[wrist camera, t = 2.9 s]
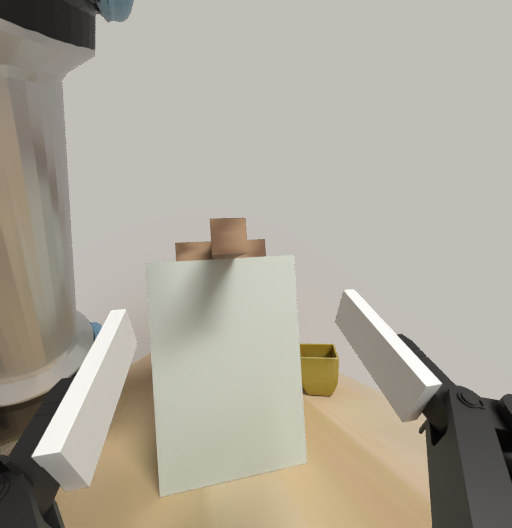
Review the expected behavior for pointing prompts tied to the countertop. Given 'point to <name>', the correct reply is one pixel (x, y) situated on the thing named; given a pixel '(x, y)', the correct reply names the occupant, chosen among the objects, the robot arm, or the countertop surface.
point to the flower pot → (319, 368)
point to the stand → (225, 369)
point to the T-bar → (222, 243)
